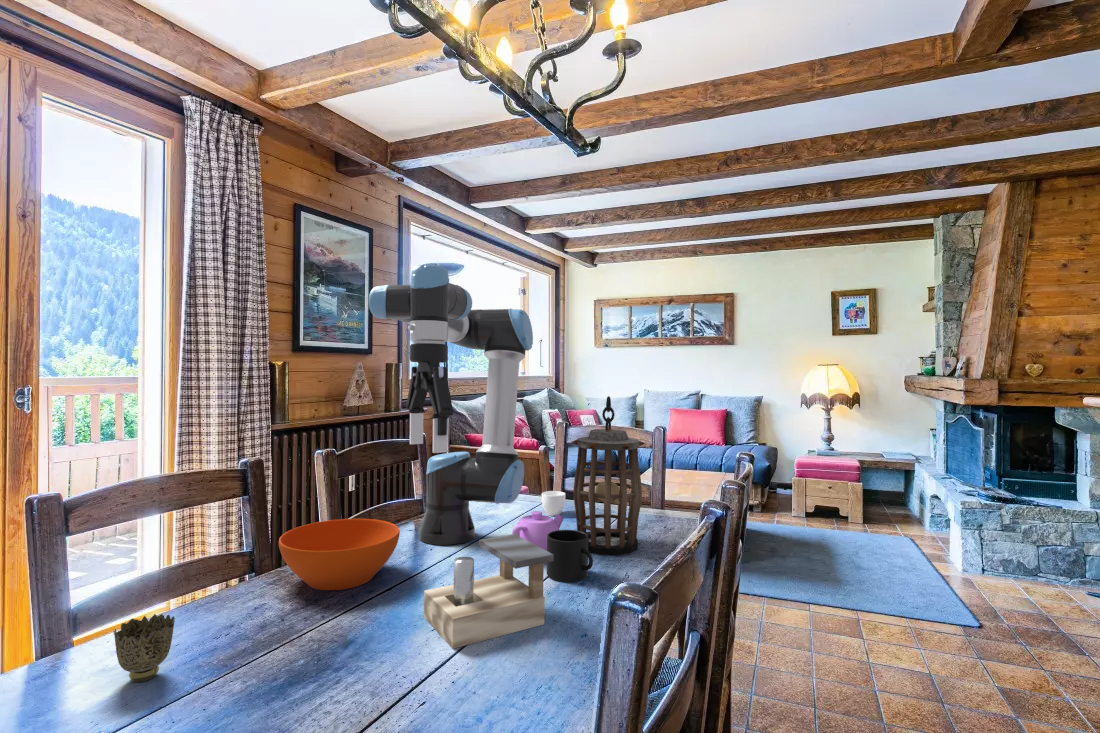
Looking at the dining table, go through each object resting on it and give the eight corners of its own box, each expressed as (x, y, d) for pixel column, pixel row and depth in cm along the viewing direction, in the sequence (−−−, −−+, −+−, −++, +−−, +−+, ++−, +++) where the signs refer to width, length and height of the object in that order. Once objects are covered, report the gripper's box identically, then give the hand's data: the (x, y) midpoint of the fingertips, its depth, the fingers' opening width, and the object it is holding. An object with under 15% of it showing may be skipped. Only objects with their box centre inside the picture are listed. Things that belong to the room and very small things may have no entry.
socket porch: (422, 616, 107) (423, 548, 108) (513, 595, 118) (514, 534, 118) (453, 650, 95) (454, 573, 95) (552, 623, 105) (553, 554, 105)
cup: (536, 515, 183) (536, 493, 183) (553, 508, 191) (553, 488, 191) (556, 518, 179) (556, 497, 179) (573, 512, 187) (573, 491, 187)
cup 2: (134, 664, 89) (135, 613, 89) (183, 663, 89) (184, 612, 89) (100, 692, 81) (101, 636, 81) (154, 690, 82) (155, 634, 82)
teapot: (582, 548, 149) (582, 508, 149) (535, 569, 133) (536, 524, 133) (540, 538, 158) (540, 500, 158) (491, 557, 141) (492, 514, 142)
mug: (578, 589, 122) (579, 547, 122) (538, 575, 130) (538, 535, 130) (605, 577, 129) (605, 537, 129) (565, 564, 137) (565, 527, 137)
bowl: (421, 578, 127) (421, 533, 127) (309, 612, 109) (310, 560, 109) (364, 552, 144) (364, 513, 144) (259, 578, 126) (259, 533, 126)
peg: (450, 624, 104) (451, 558, 104) (468, 619, 106) (469, 555, 106) (457, 632, 101) (458, 564, 101) (476, 627, 103) (477, 561, 103)
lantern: (636, 561, 140) (638, 398, 140) (561, 552, 146) (563, 396, 146) (648, 539, 158) (650, 395, 158) (581, 532, 164) (583, 393, 165)
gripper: (392, 344, 124) (390, 441, 124) (433, 340, 103) (431, 457, 103) (425, 345, 128) (424, 439, 128) (471, 341, 107) (470, 454, 107)
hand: (427, 448), depth 115 cm, fingers open, 13 cm apart
